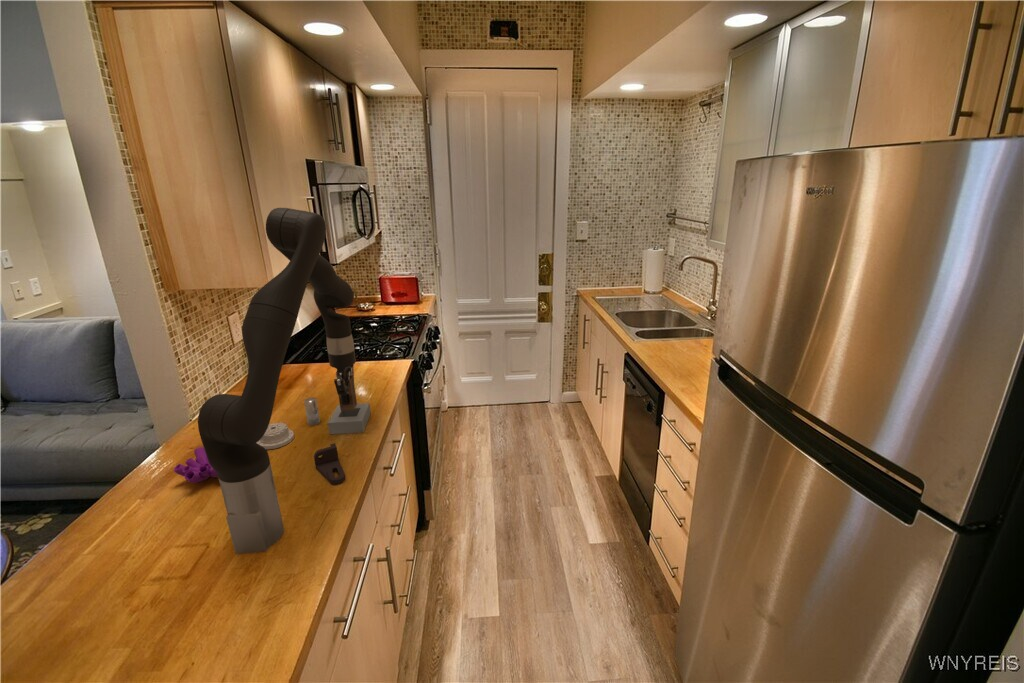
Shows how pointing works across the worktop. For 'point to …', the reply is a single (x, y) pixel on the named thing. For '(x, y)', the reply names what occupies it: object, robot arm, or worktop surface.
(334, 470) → the bracket
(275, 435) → the mechanical component
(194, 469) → the purple coral piece
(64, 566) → the worktop surface
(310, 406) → the grey metallic cylinder
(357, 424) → the socket block
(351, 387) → the walnut peg
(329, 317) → the robot arm
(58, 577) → the worktop surface
